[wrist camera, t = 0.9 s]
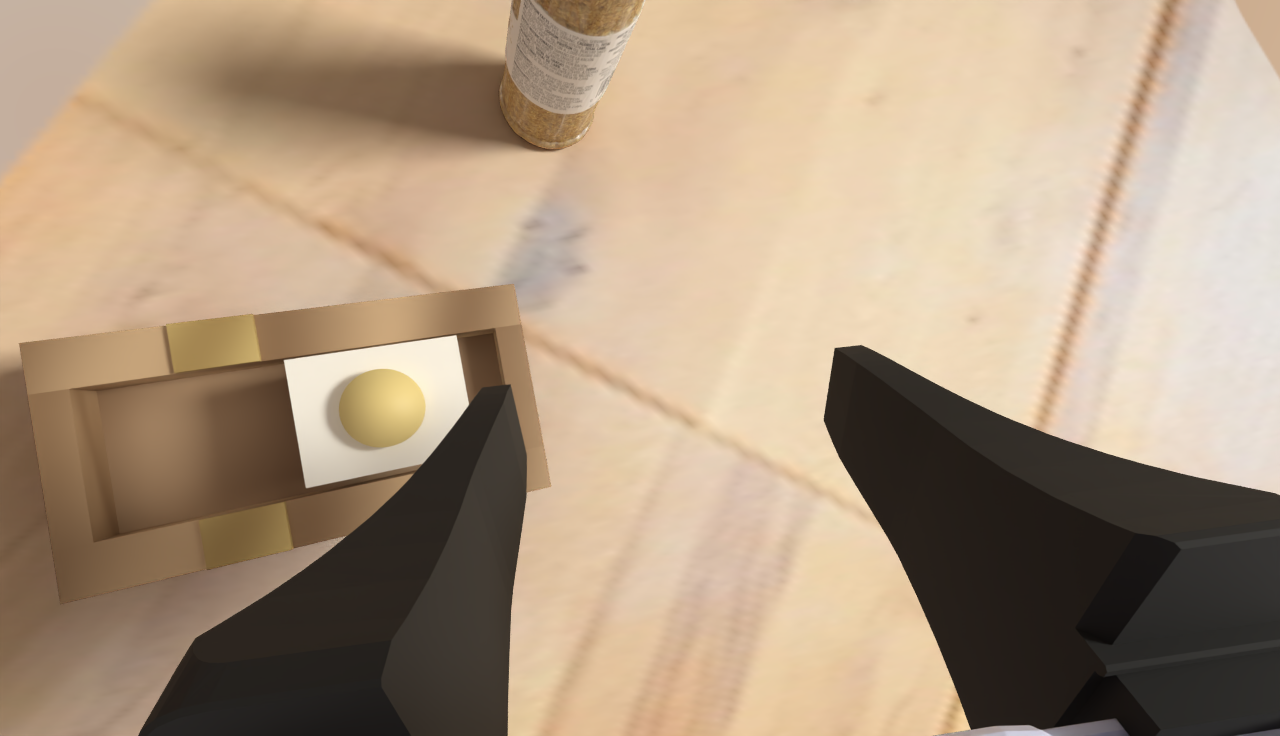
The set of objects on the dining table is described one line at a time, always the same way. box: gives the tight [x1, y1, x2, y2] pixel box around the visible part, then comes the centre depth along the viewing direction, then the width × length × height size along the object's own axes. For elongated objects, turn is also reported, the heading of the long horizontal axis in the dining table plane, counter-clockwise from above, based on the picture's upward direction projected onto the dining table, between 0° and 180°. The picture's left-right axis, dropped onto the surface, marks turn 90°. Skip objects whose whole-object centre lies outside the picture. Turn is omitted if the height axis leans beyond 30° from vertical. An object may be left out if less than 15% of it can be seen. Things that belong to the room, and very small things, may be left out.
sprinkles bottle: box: [499, 0, 645, 149], centre depth 20 cm, size 5×5×14 cm
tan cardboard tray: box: [19, 284, 551, 604], centre depth 21 cm, size 15×8×4 cm, turn 101°
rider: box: [284, 335, 469, 488], centre depth 19 cm, size 5×4×4 cm
